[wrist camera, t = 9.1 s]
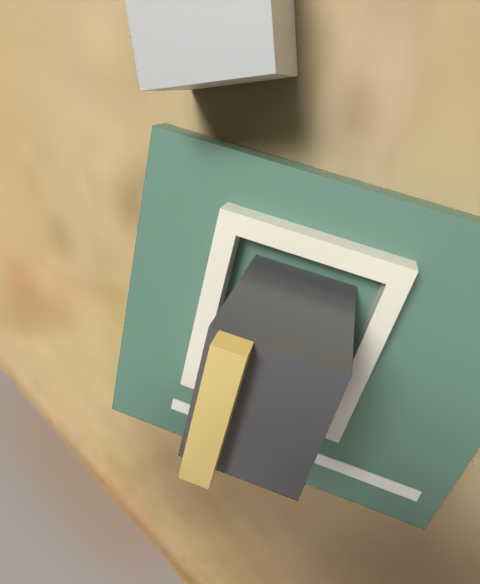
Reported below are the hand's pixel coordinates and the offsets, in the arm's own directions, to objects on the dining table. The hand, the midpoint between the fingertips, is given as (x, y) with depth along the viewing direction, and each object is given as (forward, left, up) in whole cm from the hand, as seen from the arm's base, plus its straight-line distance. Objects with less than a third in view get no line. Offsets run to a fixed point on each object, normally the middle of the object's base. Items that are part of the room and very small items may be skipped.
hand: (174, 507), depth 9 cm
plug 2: (-1, +1, -11) cm, 11 cm away
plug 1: (+4, -9, -12) cm, 15 cm away
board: (-2, +2, -12) cm, 12 cm away
